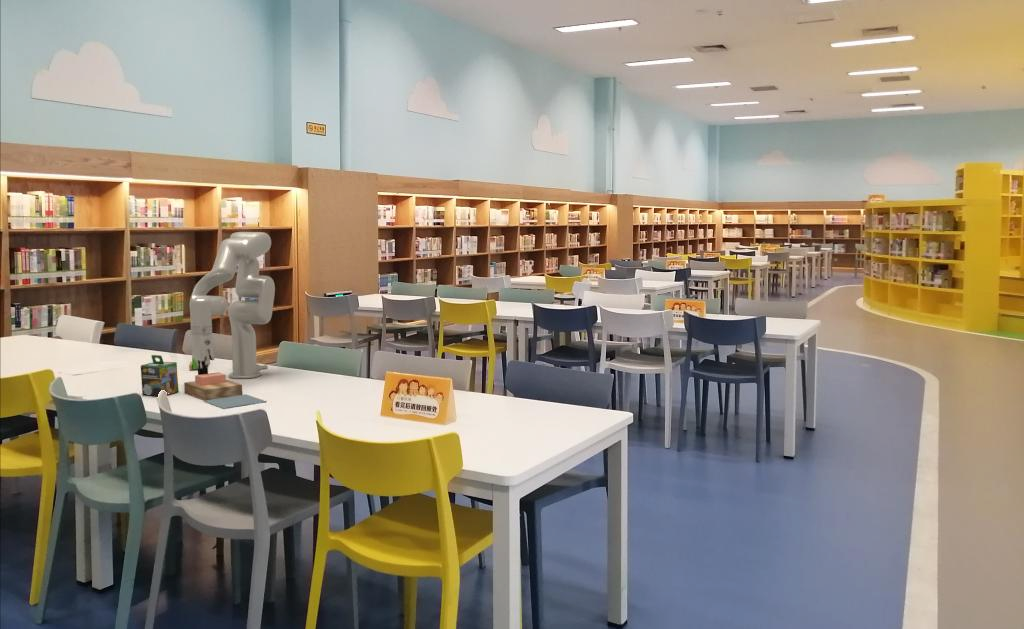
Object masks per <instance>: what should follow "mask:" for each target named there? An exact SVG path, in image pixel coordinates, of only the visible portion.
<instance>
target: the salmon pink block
mask: <svg viewBox="0 0 1024 629" xmlns="http://www.w3.org/2000/svg"><path fill="white" fill-rule="evenodd" d="M226 380H227V376H226V374H225V373H222V372H212V373H210V372H209V373H208V374H202V375H198V374H196V375H194V381H195V383H196V384H199V385H202V386H204V385H211V384H218V383H225V382H226Z"/></svg>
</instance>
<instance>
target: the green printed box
mask: <svg viewBox="0 0 1024 629" xmlns="http://www.w3.org/2000/svg"><path fill="white" fill-rule="evenodd" d="M150 357H151V360H152V362H149V363H145V364H141V365H140V377H141V378H140V379H141V390H142V391H141V393H142V394H148V395H147V396H149V395H155V396H154V397H158V394H159V392H160V391H161V390H165V391H166V392H167V394H168V393H169V395H171V394H175V393H178V392H179V378H178V365H177V364H178V363H177V362H176V361H164V360H163V355H158V354H151V355H150ZM156 359H159V361H158V360H156Z"/></svg>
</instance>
